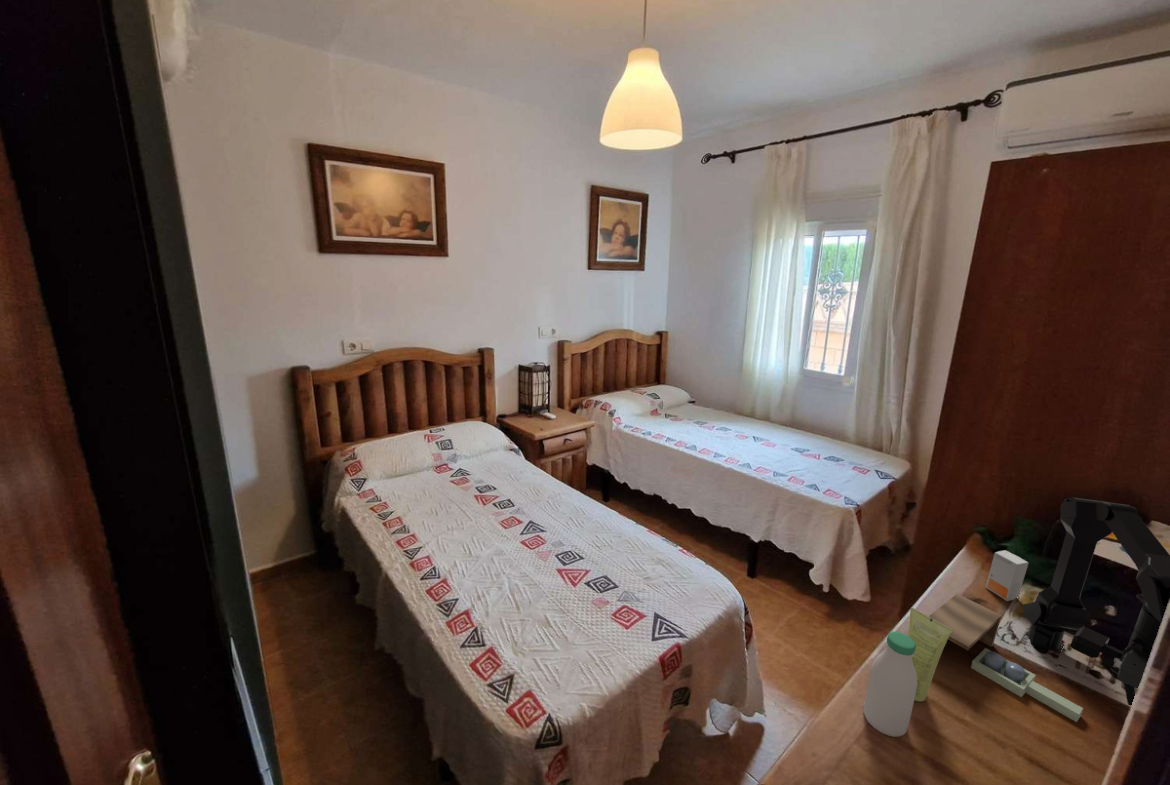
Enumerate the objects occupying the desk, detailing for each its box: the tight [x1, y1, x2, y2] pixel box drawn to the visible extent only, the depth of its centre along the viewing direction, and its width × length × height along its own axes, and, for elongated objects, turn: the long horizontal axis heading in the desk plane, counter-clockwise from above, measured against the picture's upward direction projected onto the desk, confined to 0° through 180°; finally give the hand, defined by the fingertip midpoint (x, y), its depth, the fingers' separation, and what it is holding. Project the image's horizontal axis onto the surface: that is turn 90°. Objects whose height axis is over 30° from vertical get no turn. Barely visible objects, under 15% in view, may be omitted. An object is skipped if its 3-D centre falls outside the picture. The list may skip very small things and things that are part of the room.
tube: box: [907, 607, 952, 702], centre depth 100 cm, size 6×5×20 cm
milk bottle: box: [862, 631, 917, 738], centre depth 94 cm, size 8×8×20 cm
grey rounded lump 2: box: [1003, 661, 1026, 685], centre depth 104 cm, size 3×3×4 cm
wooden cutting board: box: [928, 593, 1002, 651], centre depth 112 cm, size 18×9×10 cm, turn 122°
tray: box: [970, 647, 1084, 723], centre depth 102 cm, size 7×17×3 cm, turn 32°
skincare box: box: [985, 549, 1029, 602], centre depth 132 cm, size 6×4×12 cm
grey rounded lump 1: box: [983, 650, 1005, 673], centre depth 107 cm, size 3×3×4 cm
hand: (1131, 705), depth 89 cm, fingers closed
